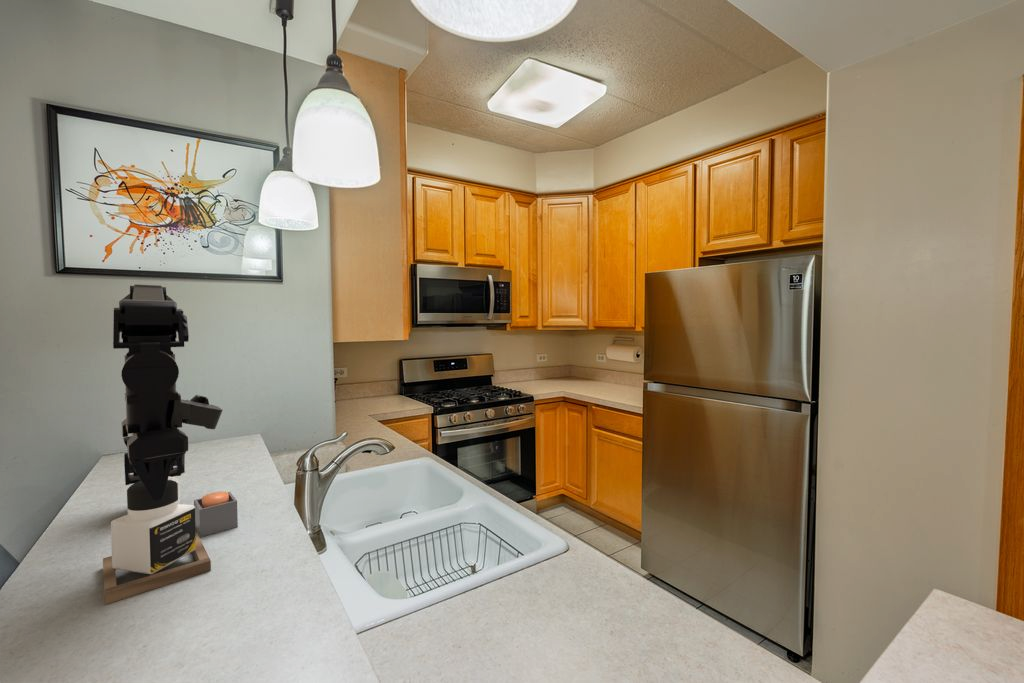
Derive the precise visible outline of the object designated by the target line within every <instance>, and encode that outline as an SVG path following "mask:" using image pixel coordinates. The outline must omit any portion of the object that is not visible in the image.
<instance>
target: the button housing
mask: <svg viewBox="0 0 1024 683" xmlns="http://www.w3.org/2000/svg"><path fill="white" fill-rule="evenodd" d="M228 493H229V502H227V503H223V504H219V505H214V506H210V507H206V508H202V497H201V498H197V499H196V498H195V499H194V500H193V506H195V523H196V533H197V534H198V536H199V538H202V537H206V536H210V535H214V534H217V533H220V532H224V531H228V530H232V529H235V528H237V527H238V523H239V522H238V521H239V520H238V499H236V497H235V495H233V494H232V493H231V491H228Z"/></svg>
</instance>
